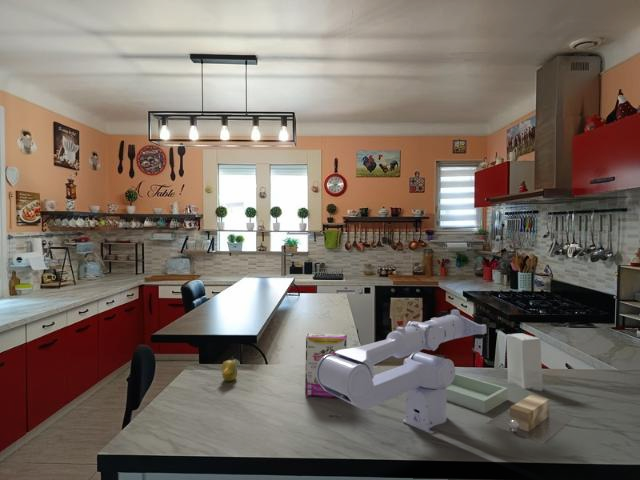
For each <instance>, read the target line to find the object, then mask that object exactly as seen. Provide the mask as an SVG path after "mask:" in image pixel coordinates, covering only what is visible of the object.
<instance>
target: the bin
mask: <svg viewBox="0 0 640 480" xmlns="http://www.w3.org/2000/svg"><path fill="white" fill-rule="evenodd" d="M508 388H509V387H505V386H501V385H498V384H495V383H491V382H488V381H483V380H480V379H476V378H473V377H470V376H466V375H462V374H459V373H456V372H455V377H454V380H453V382H452V383H451V384H450V386H448V387H447V402H450V403H454V404H456V405H459V406H462V407H465V408H467V409H470V410H474V411H476V412H480V413H482V414H486V413H488V412H489V411H492V410H493V409H495V408H496V407H499V406H500V405H501V404H503V403H504V402H507V401H508V400H509V398H508V397H509V395H508V394H509V389H508Z"/></svg>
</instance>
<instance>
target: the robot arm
mask: <svg viewBox="0 0 640 480" xmlns="http://www.w3.org/2000/svg"><path fill="white" fill-rule="evenodd" d="M490 324H491V323H490V318H489V317H483V316H481V315H475V314H474V315H473V320H471V319H469V318H467V317H465V316H464V315H462V314H461V313H460V310H458V309H452V310H450V312H449V311H443V310H441V311H438V317H432V318H430V320H426V321H423V322H421V321H416V320H415V321H414V320H413V321H412V320H409V321H408V322H407V324H406V325H405V327H402V326H398V327H396V329H395V330H394V331H391V332H389V333H388V334H387V336H386V338H385V339H383V340H379V341H376V342H371V343H368V344H364V345H360V346H356V347H351V348H347V349H342V350H338V351H336V352H334V353H336V354H338V356H336V355H333V354H327V355H325V356H323V357H322V358H321V359H320V361H319V362H318V364H317V367H316V379H317V381H318V383H319V384H320V385H321V387H322V388H323V389H324V390H325V391H327V392H329V393H331V394H333V395H335V396H337V397H338V398H339V399H341V400H342V401H344V402H346V403H348V404H350V405H352V406H354V407H356V408H359V409H360V410H363V411H365V410H366V411H367V410H369V409H370V408H373V407H376V406H378V405H380V404H383V403H385V402H387V401H389V400H391V399H393V398H396V397H399V396H401V395H403V394H405V393H406V394H407V395H406V398H405V399H406V400H405V401H406V402H405V404H406V405H405V409H406V411H405V414H406V415H405V418H403V419H402V421H403V423H405V424H407V425H409V426H412V427H415V428H417V429H419V430H422V432H423V431H424V432H426V433H428V434H431V435H432V434H435V433H437V431H436V430H434V429H432V428H433V427H435V426H437V425H442V424H445V422H447V409H448V408H447V407H448V405H447V403H448V401H447V387H448V386H450V384H451V383H452V382H453V380H454V377H455V373H456V367H455V365H454V364H455V363H454V362H453V360H451V359H449V358H444V357H439V356H435V355H431V354H428V353H424V352H421V351H422V350H427V351H433V352H434V351H436V350H437V349H438V348H439V345H440V344H442V343H445V342H448V341H452V340H456V339H460V338H464V337H465V338H466V337H470V336H473V339H478V340H482V339H484V337H485V334H487V329H488V328H489V327H490V326H491V325H490ZM407 356H408V357H407ZM391 357H395V358H396V359H402V358H404V357H406V358H404V360H403V364H402V365H399V366H396V367H394V368H391V369H388V370H385V371H382V372H380V373H377V374H375V373H374V372H375V371H374V368H373V366H375V365H376V364H378V363H380V362H382V361H384V360H386V359H388V358H391Z"/></svg>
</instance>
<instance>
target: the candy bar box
mask: <svg viewBox="0 0 640 480" xmlns="http://www.w3.org/2000/svg"><path fill="white" fill-rule="evenodd" d="M347 342H348V336H347V334H345V333H344V334H342V333H339V334H338V333H318V332H316V333H314V332H313V333H312V332H308V333H307V335H306V337H305V377H304V378H305V382H304V383H305V384H304V386H305V387H304V390H305V391H304V393H305V394H304V396H305V397H315V398H316V397H319V398H336V399H337V398H338V397H337V396H335V395H333V394H331V393H329V392H327V391H325V390H324V389H323V388H322V387H321V385H320V384H319V383H318V381H317V379H316V367H317V364H318V362H319V361H320V359H321V358H322V357H323V356H325V355H327V354H333V355H336V356H338V354H336V353H334V352H336V351H338V350H342V349H348V348H347V346H348V344H347Z"/></svg>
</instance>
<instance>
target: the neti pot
mask: <svg viewBox="0 0 640 480" xmlns="http://www.w3.org/2000/svg"><path fill="white" fill-rule="evenodd" d="M220 369H221V372H222V378H223V380H224V381H226V382H233V381H234V380H235V379H236V378H237V376H238V368H237V364H236V359H233V360H225V361H223V362H222V364H221V368H220Z"/></svg>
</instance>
